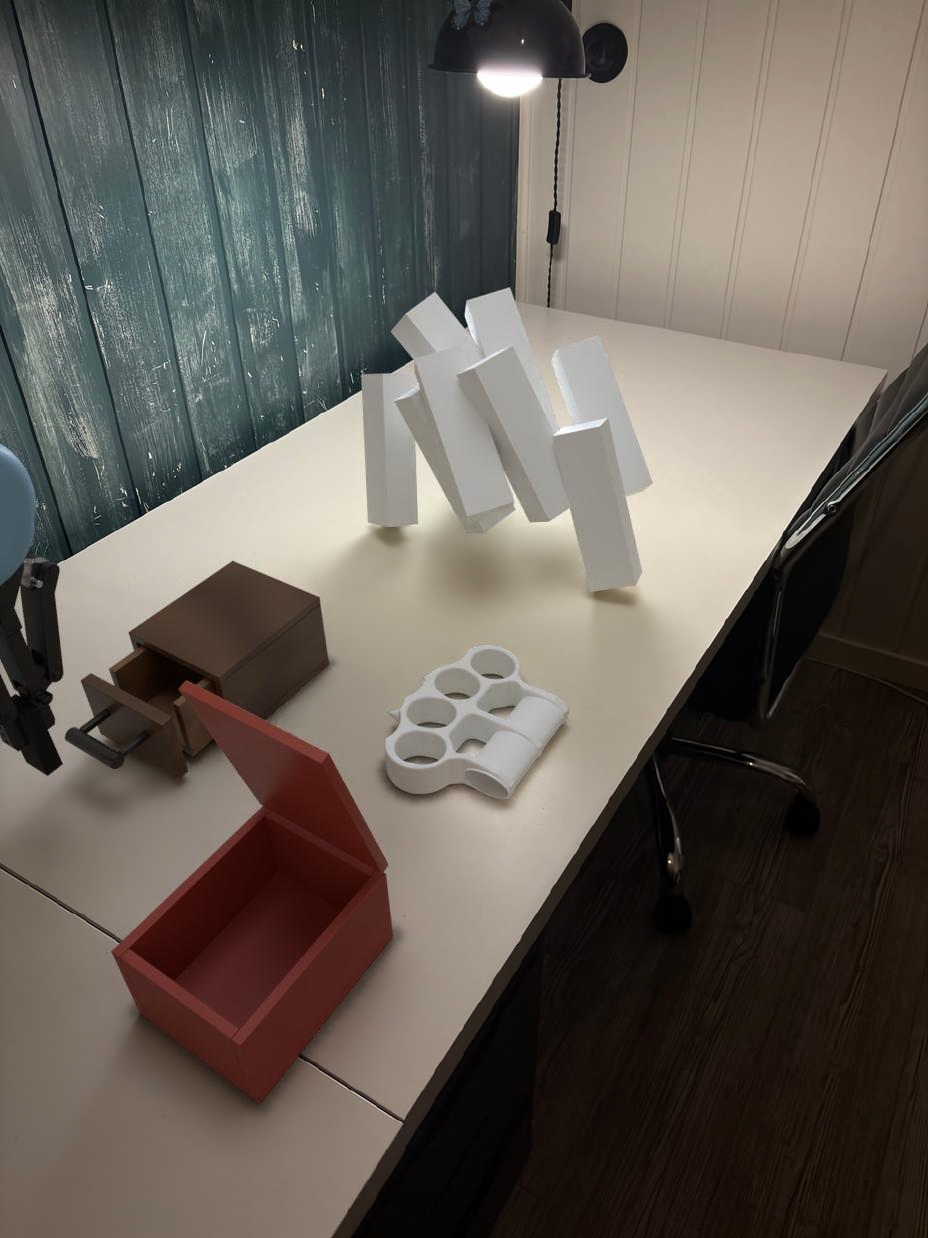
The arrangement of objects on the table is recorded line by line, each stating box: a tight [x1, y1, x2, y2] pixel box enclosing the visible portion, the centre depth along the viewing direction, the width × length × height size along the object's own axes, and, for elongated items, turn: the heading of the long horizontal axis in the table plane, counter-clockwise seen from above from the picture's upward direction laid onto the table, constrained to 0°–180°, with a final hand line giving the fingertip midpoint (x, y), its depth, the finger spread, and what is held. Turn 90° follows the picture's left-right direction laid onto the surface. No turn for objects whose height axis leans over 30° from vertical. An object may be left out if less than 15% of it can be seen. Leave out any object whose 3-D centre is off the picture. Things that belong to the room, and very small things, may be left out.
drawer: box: [64, 645, 218, 780], centre depth 83 cm, size 17×10×7 cm, turn 147°
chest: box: [110, 805, 394, 1104], centre depth 65 cm, size 15×12×8 cm
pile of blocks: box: [360, 287, 654, 593], centre depth 107 cm, size 35×30×35 cm
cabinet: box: [128, 560, 330, 721], centre depth 89 cm, size 14×12×9 cm
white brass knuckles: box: [384, 644, 570, 800], centre depth 85 cm, size 3×18×15 cm
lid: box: [179, 680, 389, 873], centre depth 61 cm, size 16×12×1 cm
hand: (44, 763), depth 74 cm, fingers closed
